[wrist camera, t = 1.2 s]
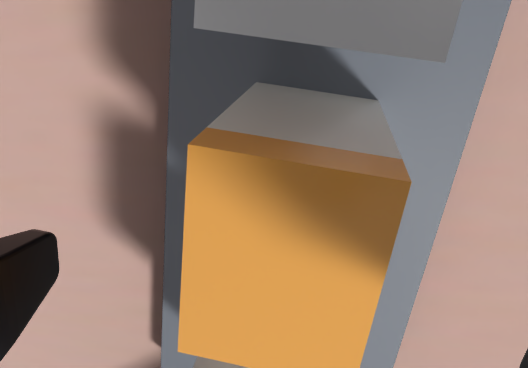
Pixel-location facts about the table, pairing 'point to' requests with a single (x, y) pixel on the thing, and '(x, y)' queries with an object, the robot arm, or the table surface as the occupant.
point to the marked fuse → (288, 229)
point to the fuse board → (343, 83)
